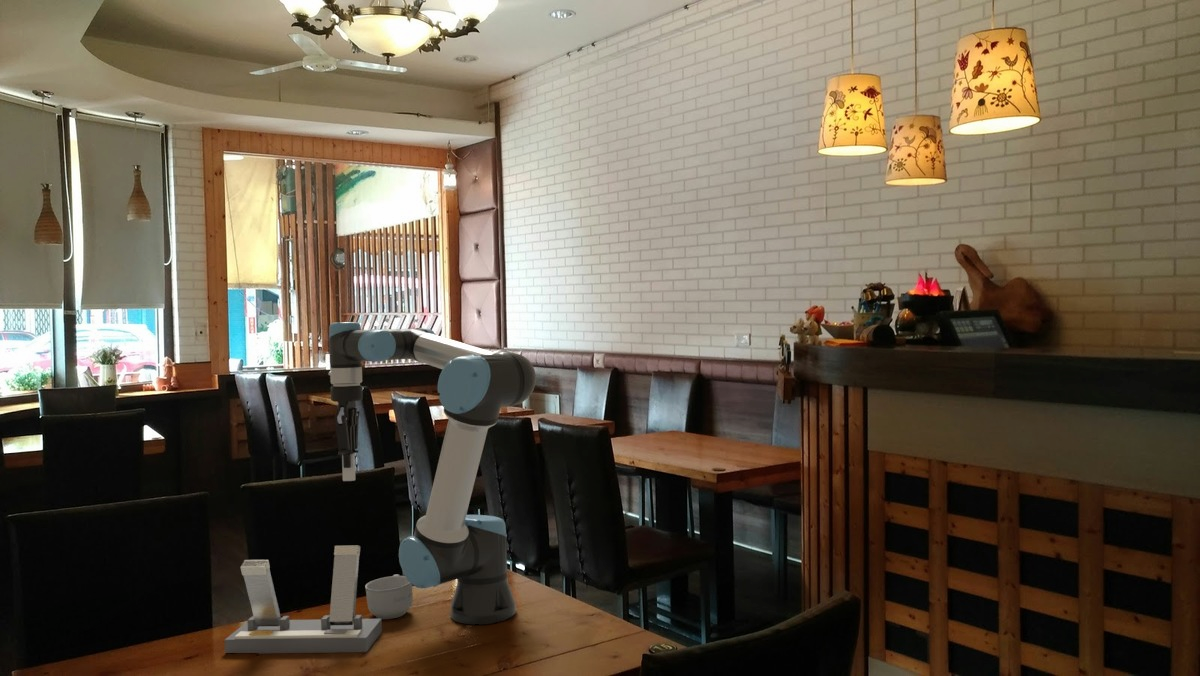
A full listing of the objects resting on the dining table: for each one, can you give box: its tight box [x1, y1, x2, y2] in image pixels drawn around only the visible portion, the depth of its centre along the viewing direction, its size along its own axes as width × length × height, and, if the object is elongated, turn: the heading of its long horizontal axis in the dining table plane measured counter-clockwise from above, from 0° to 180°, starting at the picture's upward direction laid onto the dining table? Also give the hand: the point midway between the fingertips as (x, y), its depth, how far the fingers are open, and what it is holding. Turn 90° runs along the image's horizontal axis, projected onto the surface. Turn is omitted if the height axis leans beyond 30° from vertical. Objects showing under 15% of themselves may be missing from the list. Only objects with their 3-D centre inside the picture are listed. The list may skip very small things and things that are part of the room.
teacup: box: [364, 574, 414, 620], centre depth 212 cm, size 14×11×8 cm
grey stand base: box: [224, 614, 383, 654], centre depth 193 cm, size 30×12×6 cm, turn 89°
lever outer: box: [240, 559, 282, 627], centre depth 190 cm, size 5×2×17 cm, turn 89°
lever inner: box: [329, 544, 361, 626], centre depth 195 cm, size 5×2×17 cm, turn 89°
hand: (349, 480), depth 219 cm, fingers closed
